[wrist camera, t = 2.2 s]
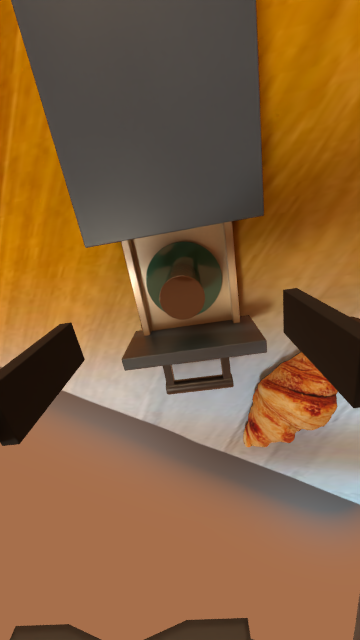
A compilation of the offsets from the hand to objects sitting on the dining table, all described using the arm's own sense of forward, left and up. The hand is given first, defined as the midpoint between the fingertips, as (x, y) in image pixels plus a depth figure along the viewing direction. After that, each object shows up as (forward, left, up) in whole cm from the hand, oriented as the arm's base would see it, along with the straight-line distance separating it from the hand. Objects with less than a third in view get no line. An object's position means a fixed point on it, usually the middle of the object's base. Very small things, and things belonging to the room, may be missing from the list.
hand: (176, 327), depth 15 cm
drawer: (0, +1, -15) cm, 15 cm away
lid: (0, 0, -14) cm, 14 cm away
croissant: (-12, +19, -16) cm, 28 cm away
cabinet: (0, -14, -16) cm, 22 cm away
